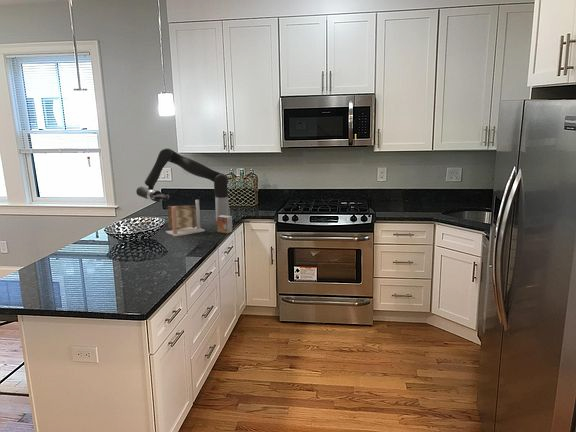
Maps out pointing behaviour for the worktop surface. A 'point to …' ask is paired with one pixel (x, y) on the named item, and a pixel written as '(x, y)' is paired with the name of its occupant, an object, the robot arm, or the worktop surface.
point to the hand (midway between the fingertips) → (166, 198)
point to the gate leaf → (182, 216)
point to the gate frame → (185, 231)
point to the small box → (224, 224)
